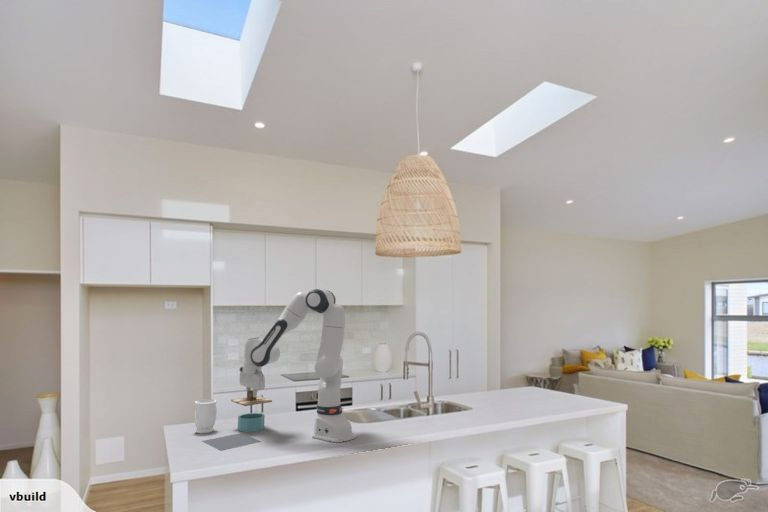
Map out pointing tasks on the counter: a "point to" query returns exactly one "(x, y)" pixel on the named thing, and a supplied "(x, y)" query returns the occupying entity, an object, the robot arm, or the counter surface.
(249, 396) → the lid
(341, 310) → the robot arm
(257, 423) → the bowl
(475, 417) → the counter surface
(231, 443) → the mat
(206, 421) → the jar
